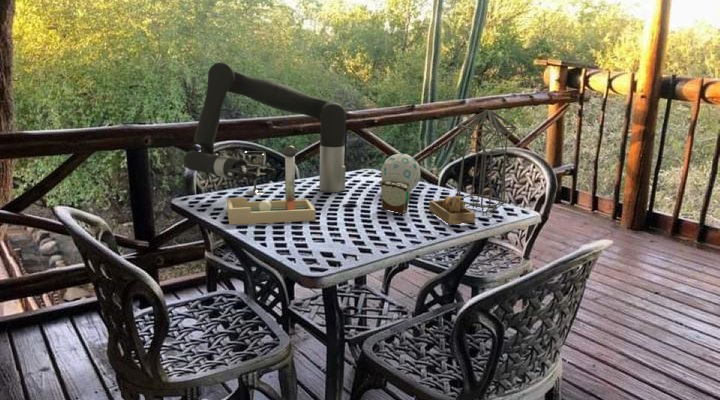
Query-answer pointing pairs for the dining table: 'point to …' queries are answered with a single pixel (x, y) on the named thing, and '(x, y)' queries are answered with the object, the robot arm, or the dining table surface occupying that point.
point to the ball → (264, 205)
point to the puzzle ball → (401, 169)
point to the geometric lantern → (491, 119)
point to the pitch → (267, 212)
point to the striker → (290, 177)
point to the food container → (395, 195)
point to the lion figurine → (453, 204)
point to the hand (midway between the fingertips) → (265, 174)
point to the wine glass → (253, 159)
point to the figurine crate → (458, 218)
